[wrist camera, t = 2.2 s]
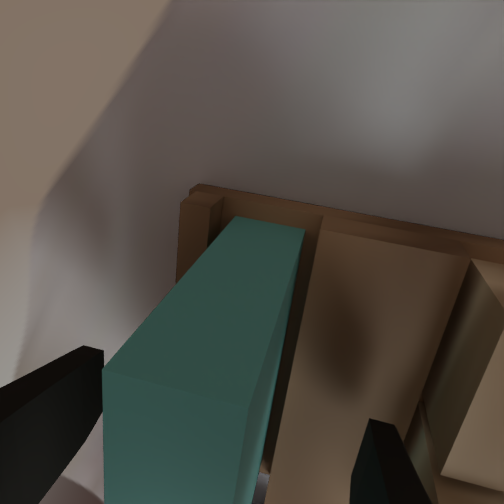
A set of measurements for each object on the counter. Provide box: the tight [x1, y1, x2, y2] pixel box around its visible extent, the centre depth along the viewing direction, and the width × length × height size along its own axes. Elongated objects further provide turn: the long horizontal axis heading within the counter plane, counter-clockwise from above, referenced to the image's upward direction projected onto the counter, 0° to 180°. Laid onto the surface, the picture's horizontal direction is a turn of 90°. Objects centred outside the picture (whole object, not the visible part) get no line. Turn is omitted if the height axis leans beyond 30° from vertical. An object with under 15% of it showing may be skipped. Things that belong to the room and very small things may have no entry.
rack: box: [176, 184, 504, 504], centre depth 13 cm, size 10×10×2 cm
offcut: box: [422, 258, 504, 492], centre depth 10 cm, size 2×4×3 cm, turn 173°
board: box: [102, 216, 306, 504], centre depth 10 cm, size 2×9×7 cm, turn 173°
